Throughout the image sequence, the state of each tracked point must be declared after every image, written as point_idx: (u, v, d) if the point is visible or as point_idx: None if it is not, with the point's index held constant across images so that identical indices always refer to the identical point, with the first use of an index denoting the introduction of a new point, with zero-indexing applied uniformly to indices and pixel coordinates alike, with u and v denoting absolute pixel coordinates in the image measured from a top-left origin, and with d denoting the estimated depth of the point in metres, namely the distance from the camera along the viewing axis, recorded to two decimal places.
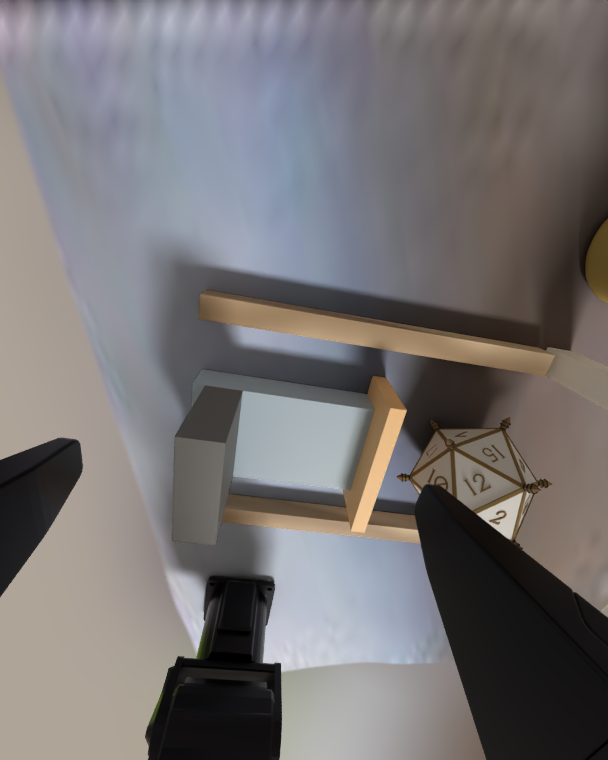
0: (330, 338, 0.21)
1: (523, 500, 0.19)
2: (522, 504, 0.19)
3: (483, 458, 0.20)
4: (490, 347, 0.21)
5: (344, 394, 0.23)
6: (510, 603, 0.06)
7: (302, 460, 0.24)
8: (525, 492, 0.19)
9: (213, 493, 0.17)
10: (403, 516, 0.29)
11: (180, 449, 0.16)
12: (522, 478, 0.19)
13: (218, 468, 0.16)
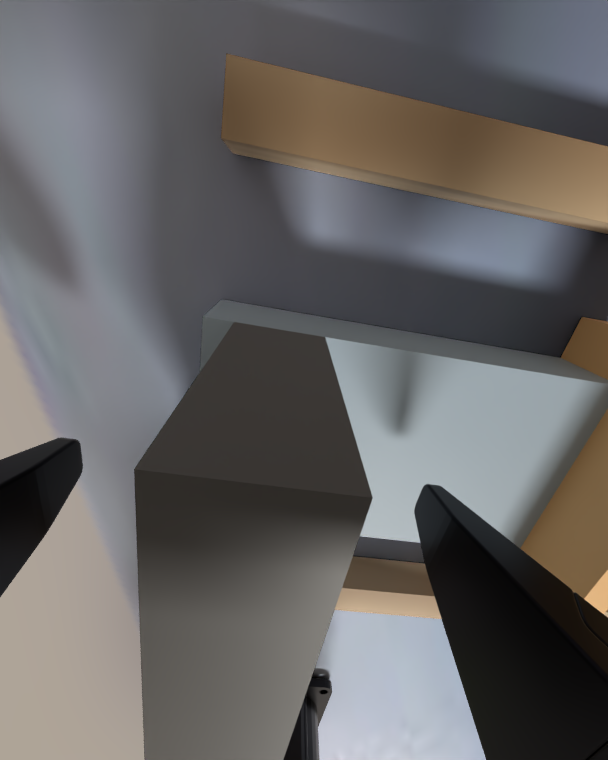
0: (549, 202, 0.08)
1: None
2: None
3: None
4: None
5: (525, 355, 0.11)
6: (510, 603, 0.06)
7: None
8: None
9: (289, 667, 0.05)
10: None
11: (165, 523, 0.04)
12: None
13: (321, 593, 0.04)
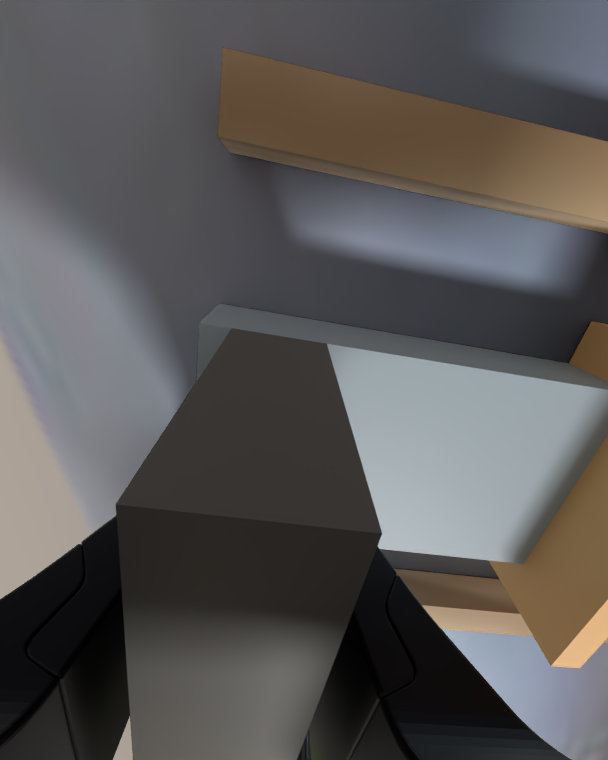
0: (560, 203, 0.08)
1: None
2: None
3: None
4: None
5: (533, 361, 0.11)
6: None
7: (439, 507, 0.11)
8: None
9: (289, 706, 0.04)
10: None
11: (151, 561, 0.03)
12: None
13: (325, 631, 0.04)
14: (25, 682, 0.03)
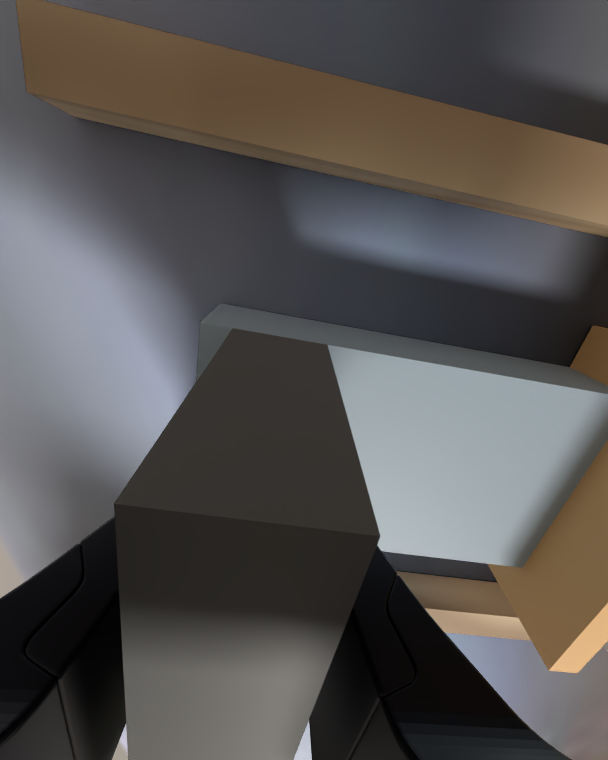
0: (404, 170, 0.08)
1: None
2: None
3: None
4: None
5: (533, 365, 0.11)
6: None
7: (438, 509, 0.11)
8: None
9: (285, 707, 0.04)
10: (496, 587, 0.16)
11: (149, 560, 0.03)
12: None
13: (321, 633, 0.04)
14: (25, 682, 0.03)
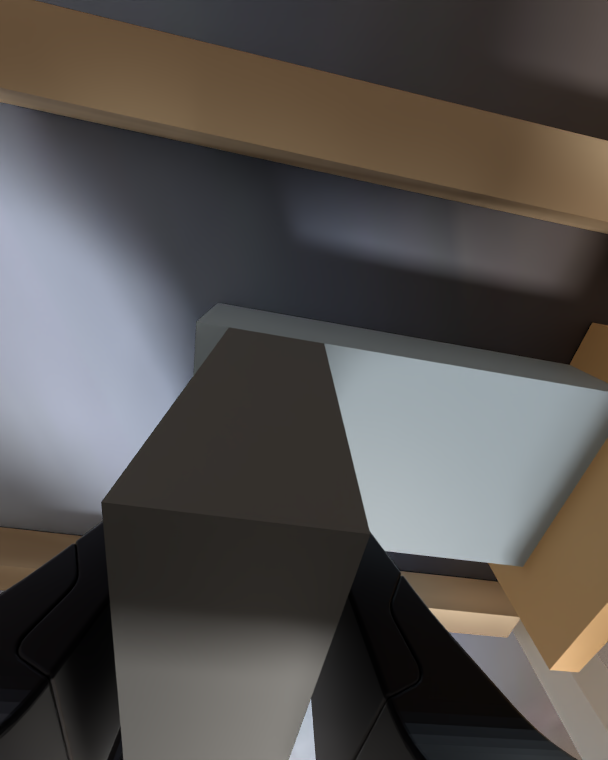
0: (196, 121, 0.07)
1: None
2: None
3: None
4: None
5: (533, 363, 0.11)
6: None
7: (437, 509, 0.11)
8: None
9: (279, 707, 0.04)
10: (405, 576, 0.15)
11: (139, 560, 0.03)
12: None
13: (313, 632, 0.04)
14: (17, 682, 0.03)
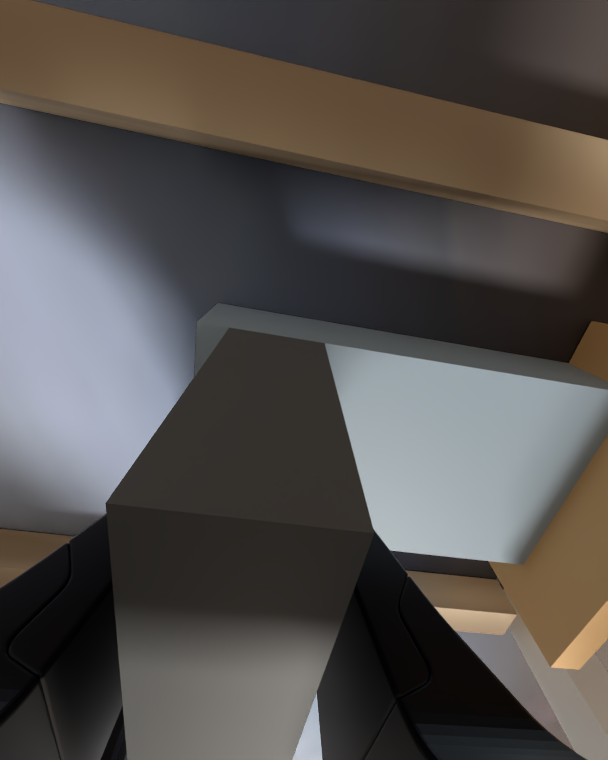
0: (184, 119, 0.07)
1: None
2: None
3: None
4: None
5: (532, 361, 0.11)
6: None
7: (438, 507, 0.11)
8: None
9: (283, 706, 0.04)
10: None
11: (142, 561, 0.03)
12: None
13: (318, 632, 0.04)
14: (6, 682, 0.03)
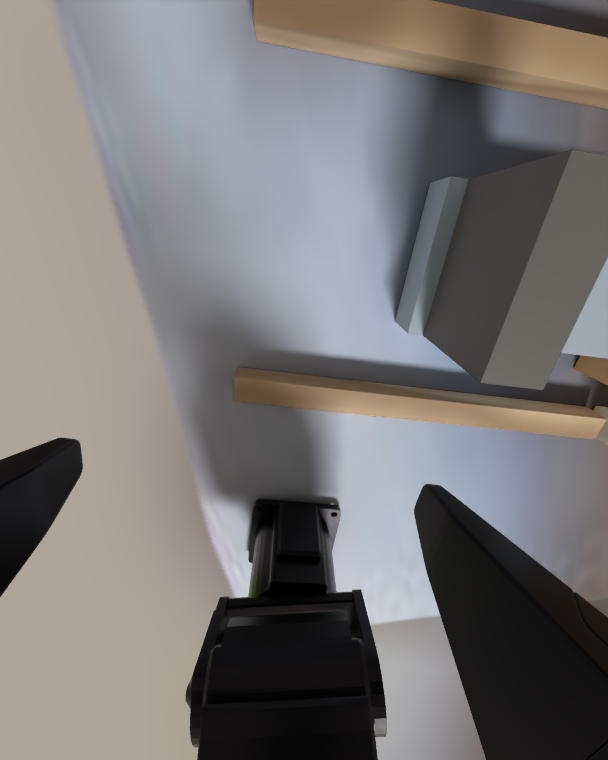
0: (460, 54, 0.13)
1: None
2: None
3: None
4: None
5: None
6: (510, 603, 0.06)
7: None
8: None
9: (584, 282, 0.10)
10: (519, 400, 0.21)
11: (570, 180, 0.09)
12: None
13: None
14: None
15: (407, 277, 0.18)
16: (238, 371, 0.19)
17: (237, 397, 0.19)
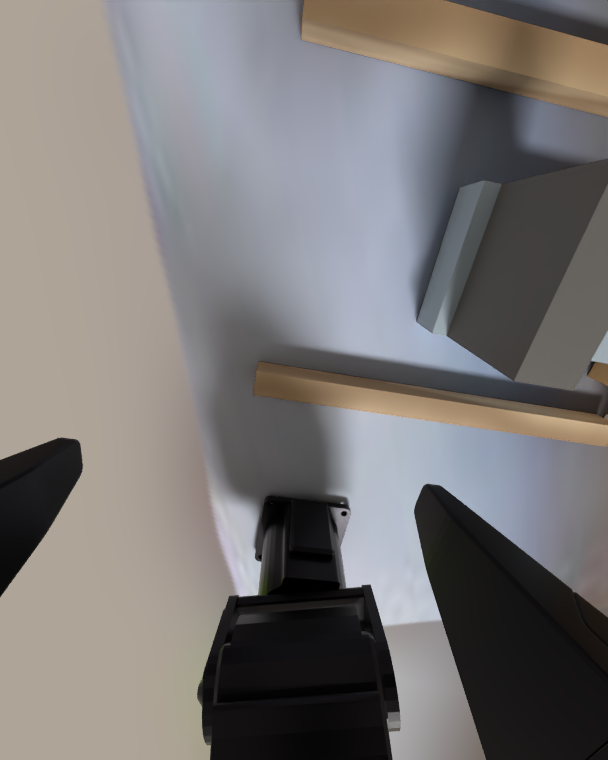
0: (500, 63, 0.13)
1: None
2: None
3: None
4: None
5: None
6: (510, 603, 0.06)
7: None
8: None
9: None
10: (533, 405, 0.22)
11: None
12: None
13: None
14: None
15: (432, 279, 0.18)
16: (259, 365, 0.20)
17: (257, 391, 0.19)
